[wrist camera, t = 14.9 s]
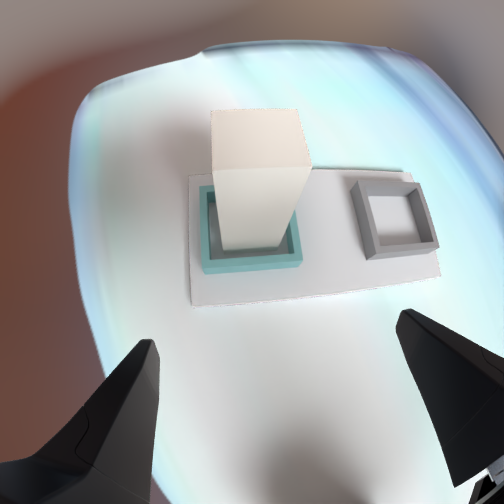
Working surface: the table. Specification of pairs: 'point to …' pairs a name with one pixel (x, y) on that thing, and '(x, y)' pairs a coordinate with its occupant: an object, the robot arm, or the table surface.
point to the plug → (257, 175)
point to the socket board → (318, 241)
